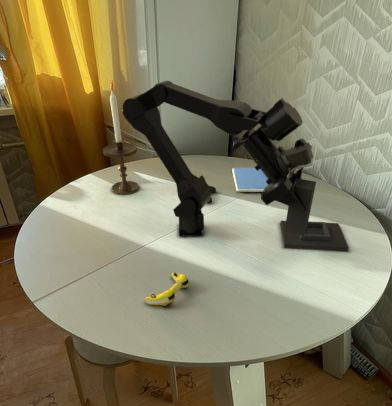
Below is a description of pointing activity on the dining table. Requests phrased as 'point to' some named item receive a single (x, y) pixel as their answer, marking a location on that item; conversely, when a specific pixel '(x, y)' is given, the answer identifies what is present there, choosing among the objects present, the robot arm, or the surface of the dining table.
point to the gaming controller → (211, 192)
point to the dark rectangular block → (295, 218)
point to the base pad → (316, 237)
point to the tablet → (249, 180)
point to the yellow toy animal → (169, 291)
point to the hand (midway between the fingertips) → (306, 206)
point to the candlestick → (120, 152)
